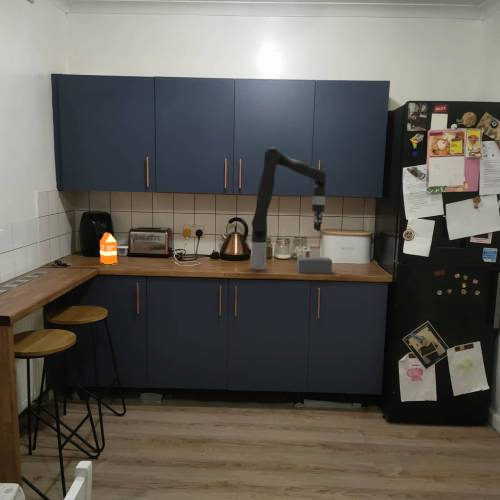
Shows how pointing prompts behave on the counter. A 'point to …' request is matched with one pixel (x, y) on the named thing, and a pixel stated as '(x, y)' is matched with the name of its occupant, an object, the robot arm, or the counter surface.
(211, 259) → the counter surface
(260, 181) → the robot arm
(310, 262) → the dispenser
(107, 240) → the orange juice
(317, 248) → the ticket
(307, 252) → the small box
